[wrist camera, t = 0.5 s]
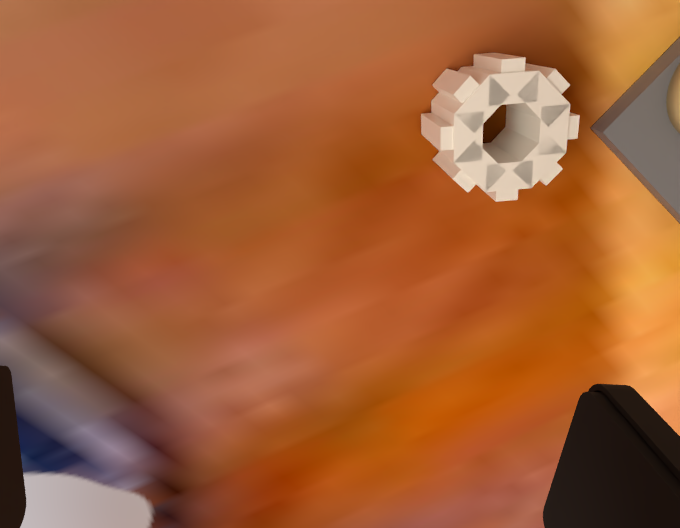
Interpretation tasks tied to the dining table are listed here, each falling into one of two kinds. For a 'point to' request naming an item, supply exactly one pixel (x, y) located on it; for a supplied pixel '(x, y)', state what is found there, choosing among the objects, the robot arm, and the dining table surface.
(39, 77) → the dining table surface
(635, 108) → the gear board
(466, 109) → the loose gear
